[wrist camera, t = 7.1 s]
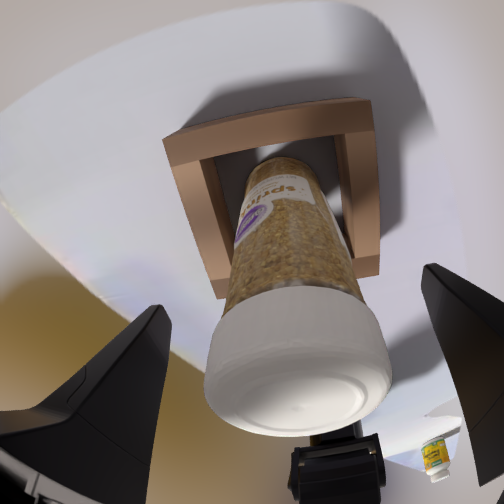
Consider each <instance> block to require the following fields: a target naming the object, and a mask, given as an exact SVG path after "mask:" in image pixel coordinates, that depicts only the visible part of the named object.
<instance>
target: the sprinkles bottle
mask: <svg viewBox="0 0 504 504" xmlns="http://www.w3.org/2000/svg"><path fill="white" fill-rule="evenodd" d="M244 198H245V199H244V202H243V204H242V207H241V212H240V217H239V222H238V227H237V232H236V238H235V243H234V256H233V260H232V266H231V273H230V279H229V283H228V291H227V297H226V304H225V308H224V312H223V315H222V317H221V320H220V321H219V323H218V324H217V326H216V328H215V331H214V333H213V335H212V340H211V344H210V349H209V354H208V359H207V366H206V372H205V379H204V395H205V398H206V400H207V402H208V404H209V406H210V408H211V409H212V410H213V411H214V412H215V413H216V414H217V415H218V416H219V417H220V418H221V419H223V420H225V421H226V422H228V423H229V424H231V425H234V426H236V427H238V428H241V429H243V430H246V431H250V432H253V433H258V434H264V435H271V436H283V437H285V436H286V437H296V436H310V435H315V434H321V433H326V432H329V431H333V430H336V429H340V428H343V427H345V426H348V425H350V424H352V423H354V422H356V421H358V420H360V419H362V418H363V417H365V416H366V415H368V414H369V413H371V412H372V411H373V410H374V409H376V408H377V407H378V406H379V405H380V404H381V403H382V401H383V400H384V399H385V397H386V395H387V394H388V392H389V390H390V387H391V384H392V368H391V364H390V360H389V355H388V351H387V348H386V344H385V341H384V338H383V335H382V332H381V329H380V326H379V323H378V321H377V319H376V317H375V315H374V313H373V312H372V311H371V310H370V308H369V307H368V306H367V305H366V303H365V301H364V299H363V296H362V293H361V291H360V287H359V285H358V282H357V280H356V276H355V273H354V270H353V268H352V261H351V257H350V254H349V251H348V248H347V246H346V243H345V241H344V238H343V236H342V233H341V231H340V229H339V226H338V224H337V222H336V219H335V217H334V215H333V212H332V210H331V208H330V206H329V204H328V202H327V199H326V197H325V195H324V194H323V192H322V191H321V189H320V184H319V182H318V179H317V176H316V175H315V173H314V172H313V171H312V169H311V168H310V167H309V166H308V165H306V164H305V163H303V162H301V161H299V160H297V159H294V158H288V157H277V158H272V159H269V160H267V161H265V162H264V163H261V164H260V165H258V166H257V167H255V168H254V170H253V171H252V172H251V173H250V175H249V177H248V179H247V181H246V185H245V192H244Z"/></svg>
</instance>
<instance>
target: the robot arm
mask: <svg viewBox="0 0 504 504" xmlns="http://www.w3.org/2000/svg"><path fill="white" fill-rule="evenodd" d="M421 290H422V294H423V297H424V300H425V303H426V306H427V309H428V312H429V315H430V319H431V322H432V325H433V328H434V331H435V333H436V336H437V338H438V341H439V343H440V346H441V348H442V351H443V354H444V356H445V359H446V362H447V364H448V367H449V370H450V373H451V376H452V379H453V382H454V385H455V388H456V391H457V394H458V397H459V400H460V403H461V407H462V410H463V414H464V417H465V421H466V425H467V429H468V432H469V437H470V441H471V446H472V450H473V454H474V460H475V465H476V470H477V476H478V482H479V486H480V487H481V486H483V485H485V484H487V483H488V482H491V481H492V480H494V479H496V478H498V477H500V476H502V475H503V474H504V302H502V301H501V300H499V299H497V298H495V297H494V296H492V295H491V294H489V293H487V292H486V291H484V290H482V289H481V288H479V287H477V286H476V285H474V284H472V283H471V282H469V281H467V280H465V279H464V278H462V277H460V276H458V275H457V274H455V273H453V272H451V271H449V270H448V269H446V268H444V267H442V266H440V265H439V264H437V263H431V264H426V265H425V266H424V268H423V274H422V281H421ZM171 330H172V323H171V320H170V318H169V316H168V314H167V313H166V311H165V309H164V307H163V306H162V305H160V304H159V305H151V306H149V307H148V308H147V309H146V310H145V311H144V312H143V313H142V314H140V315H139V316H138V317H137V318H136V319H135V320H134V321H133V322H131V323H130V324H129V325H128V326H127V327H126V328H125V329H124V330H123V331H122V332H120V333H119V334H118V335H117V336H116V337H115V338H114V339H113V340H112V341H110V342H109V343H108V344H107V345H106V346H105V347H104V348H103V349H102V350H101V351H99V352H98V353H97V354H96V355H95V356H94V357H93V358H92V359H91V360H90V361H89V362H88V363H86V365H84V366H83V367H82V368H81V369H80V370H79V371H78V372H77V373H76V374H74V375H73V376H72V377H71V378H70V379H69V380H67V381H66V382H65V383H64V384H63V385H61V386H60V387H59V388H58V389H57V390H55V391H54V392H53V393H52V394H51V395H49V396H48V397H47V398H45V399H44V400H43V401H42V402H41V403H39V404H38V405H36V406H34V407H32V408H30V409H25V410H13V411H0V504H145V503H146V495H147V487H148V479H149V471H150V463H151V457H152V449H153V444H154V438H155V432H156V425H157V420H158V414H159V409H160V403H161V398H162V392H163V387H164V381H165V377H166V372H167V366H168V360H169V350H170V340H171ZM369 452H371V454H370V453H369ZM291 458H292V459H291V471H290V476H289V480H288V489H289V490H290V491H292V494H293V496H294V500H295V501H299V504H380V502H381V496H380V488H382V487H385V485H386V474H385V466H384V461H383V456H382V451H381V447H380V442H379V438H378V434H377V433H375V434H372V435H370V436H365V437H363V431H362V425H361V419H360V420H358V421H356V422H354V423H352V424H350V425H348V426H345V427H343V428H340V429H336V430H333V431H329V432H326V433H321V434H315V435H310V447H302V448H300V447H295V450H294V452H293V453H292V454H291ZM497 504H504V490H503V492H502V494H501V496H500V498H499V500H498V502H497Z"/></svg>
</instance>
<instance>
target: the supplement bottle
mask: <svg viewBox="0 0 504 504" xmlns="http://www.w3.org/2000/svg"><path fill="white" fill-rule="evenodd" d="M421 451H422V455H423V459H424V464H425V469H426V473H427V474H428V475H431V476H432V477H431V482H432V483H434V482H437V481H440V480H442V479H444V478H446V477H448V476H449V475H450V474H449V470H447V468H448V467H449V466H450V460H449V456H448V452H447V448H446V444H445V441H444V438H443V437H437V438H434V439H432V440H430V441H427V442H426V443H424V444H423V445H422V446H421Z"/></svg>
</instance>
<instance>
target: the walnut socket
mask: <svg viewBox="0 0 504 504" xmlns="http://www.w3.org/2000/svg"><path fill="white" fill-rule="evenodd" d="M330 135H334V142H335V149H336V156H337V164H338V172H339V181H340V190H341V200H342V211H343V223H344V233H342V236H343V238H344V241H345V243H346V246H347V248H348V251H349V254H350V257H351V261H352V268H353V270H354V273H355V276H356V279H359V278H365V277H370V276H376V275H379V262H380V203H379V180H378V164H377V152H376V141H375V132H374V123H373V115H372V108H371V101H370V100H366V99H361V98H355V97H349V98H338V99H329V100H320V101H312V102H305V103H298V104H292V105H285V106H280V107H274V108H268V109H263V110H258V111H253V112H248V113H243V114H239V115H234V116H230V117H226V118H221V119H217V120H213V121H209V122H205V123H202V124H198V125H194V126H191V127H187V128H184V129H180V130H178V131H176V132H174V133H173V134H171V135H169V136H167V137H166V138H164V139H162V141H163V144H164V147H165V151H166V154H167V157H168V160H169V163H170V167H171V170H172V173H173V176H174V179H175V182H176V185H177V188H178V191H179V194H180V197H181V200H182V203H183V206H184V209H185V212H186V215H187V218H188V221H189V224H190V227H191V230H192V233H193V235H194V238H195V241H196V244H197V247H198V249H199V252H200V255H201V258H202V260H203V263H204V266H205V269H206V271H207V274H208V277H209V279H210V282H211V285H212V287H213V290H214V293H215V295H216V298H217V299H224V298H226V297H227V291H228V283H229V279H230V273H231V266H232V260H233V256H234V243H235V238H236V237H235V234H234V230H233V227H232V223H231V220H230V216H229V212H228V209H227V205H226V202H225V198H224V195H223V191H222V187H221V184H220V180H219V177H218V173H217V169H216V166H215V162H214V158H213V157H214V156H219V155H223V154H228V153H232V152H237V151H241V150H246V149H251V148H256V147H261V146H267V145H272V144H278V143H284V142H290V141H296V140H302V139H309V138H315V137H323V136H330Z"/></svg>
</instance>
